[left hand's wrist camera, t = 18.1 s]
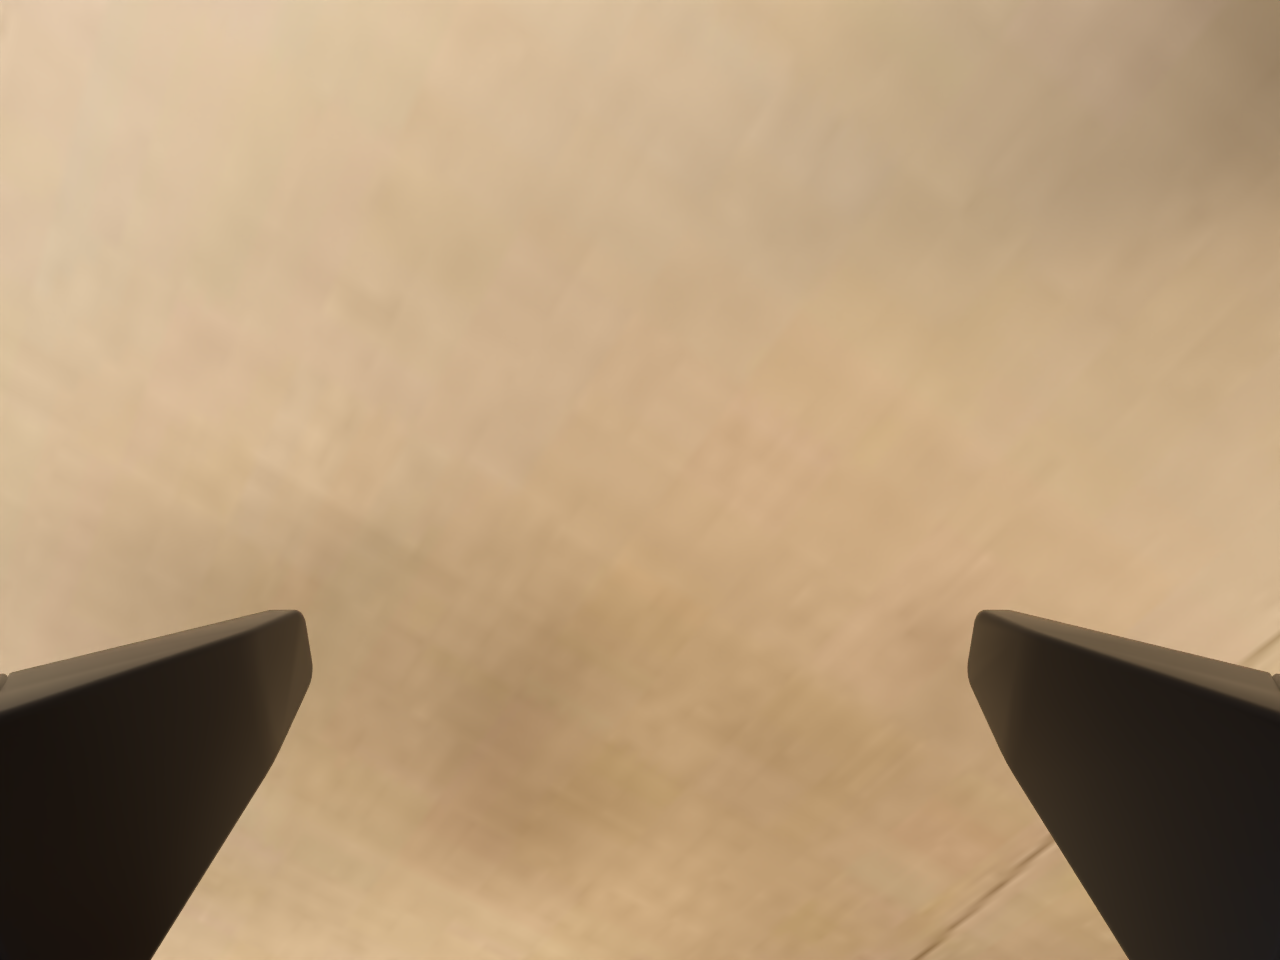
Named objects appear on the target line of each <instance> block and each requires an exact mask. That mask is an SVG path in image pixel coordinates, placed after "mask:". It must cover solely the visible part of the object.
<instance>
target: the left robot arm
mask: <svg viewBox="0 0 1280 960" xmlns="http://www.w3.org/2000/svg"><path fill="white" fill-rule="evenodd" d="M311 678H312V659H311V652H310V646H309V640H308V634H307V628H306V622H305V619H304V616H303V614H302V613H301V612H300V611H297V610H269V611H265V612H260V613H256V614H252V615H248V616H244V617H240V618H236V619H231V620H227V621H223V622H219V623H215V624H211V625H207V626H202V627H198V628H194V629H190V630H186V631H182V632H178V633H173V634H169V635H165V636H161V637H157V638H153V639H149V640H144V641H140V642H136V643H132V644H128V645H124V646H120V647H115V648H111V649H107V650H103V651H99V652H95V653H91V654H86V655H82V656H78V657H74V658H70V659H66V660H62V661H58V662H53V663H49V664H45V665H41V666H37V667H33V668H29V669H24V670H20V671H16V672H12V673H10V674H9V676H8V677H7V675H5V674H0V960H151V959H152V957H153V955H154V954H155V952H156V951H157V949H158V947H159V946H160V944H161V943H162V941H163V939H164V938H165V936H166V935H167V933H168V931H169V930H170V928H171V927H172V925H173V923H174V922H175V920H176V919H177V917H178V915H179V914H180V912H181V911H182V909H183V907H184V906H185V904H186V903H187V901H188V899H189V898H190V896H191V895H192V893H193V891H194V890H195V888H196V887H197V885H198V883H199V882H200V880H201V879H202V877H203V875H204V874H205V872H206V871H207V869H208V867H209V866H210V864H211V863H212V861H213V859H214V858H215V856H216V855H217V853H218V851H219V850H220V848H221V847H222V845H223V843H224V842H225V840H226V839H227V837H228V835H229V834H230V832H231V831H232V829H233V827H234V826H235V824H236V823H237V821H238V819H239V818H240V816H241V815H242V813H243V811H244V810H245V808H246V807H247V805H248V803H249V802H250V800H251V799H252V797H253V795H254V794H255V792H256V791H257V789H258V787H259V786H260V784H261V783H262V781H263V779H264V778H265V776H266V774H267V773H268V771H269V769H270V767H271V766H272V764H273V762H274V760H275V758H276V756H277V754H278V752H279V750H280V748H281V746H282V744H283V742H284V740H285V737H286V735H287V733H288V731H289V729H290V727H291V724H292V722H293V720H294V718H295V716H296V713H297V711H298V709H299V707H300V705H301V703H302V700H303V698H304V696H305V694H306V692H307V689H308V687H309V685H310V682H311ZM968 678H969V682H970V685H971V687H972V689H973V692H974V694H975V696H976V698H977V700H978V703H979V705H980V707H981V709H982V711H983V713H984V716H985V718H986V720H987V722H988V724H989V727H990V729H991V731H992V733H993V735H994V737H995V740H996V742H997V744H998V746H999V748H1000V750H1001V752H1002V754H1003V756H1004V758H1005V760H1006V762H1007V764H1008V766H1009V767H1010V769H1011V771H1012V773H1013V774H1014V776H1015V778H1016V779H1017V781H1018V783H1019V784H1020V786H1021V787H1022V789H1023V791H1024V792H1025V794H1026V795H1027V797H1028V799H1029V800H1030V802H1031V803H1032V805H1033V807H1034V808H1035V810H1036V811H1037V813H1038V815H1039V816H1040V818H1041V819H1042V821H1043V823H1044V824H1045V826H1046V827H1047V829H1048V831H1049V832H1050V834H1051V835H1052V837H1053V839H1054V840H1055V842H1056V843H1057V845H1058V847H1059V848H1060V850H1061V851H1062V853H1063V855H1064V856H1065V858H1066V859H1067V861H1068V863H1069V864H1070V866H1071V867H1072V869H1073V871H1074V872H1075V874H1076V875H1077V877H1078V879H1079V880H1080V882H1081V883H1082V885H1083V887H1084V888H1085V890H1086V891H1087V893H1088V895H1089V896H1090V898H1091V899H1092V901H1093V903H1094V904H1095V906H1096V907H1097V909H1098V911H1099V912H1100V914H1101V915H1102V917H1103V919H1104V920H1105V922H1106V923H1107V925H1108V927H1109V928H1110V930H1111V931H1112V933H1113V935H1114V936H1115V938H1116V939H1117V941H1118V943H1119V944H1120V946H1121V947H1122V949H1123V951H1124V952H1125V954H1126V955H1127V957H1128V959H1129V960H1280V674H1275V675H1273V677H1272V676H1271V674H1270V673H1268V672H1264V671H1260V670H1256V669H1252V668H1248V667H1243V666H1239V665H1235V664H1231V663H1227V662H1223V661H1219V660H1214V659H1210V658H1206V657H1202V656H1198V655H1194V654H1190V653H1185V652H1181V651H1177V650H1173V649H1169V648H1165V647H1161V646H1156V645H1152V644H1148V643H1144V642H1140V641H1136V640H1131V639H1127V638H1123V637H1119V636H1115V635H1111V634H1107V633H1102V632H1098V631H1094V630H1090V629H1086V628H1082V627H1078V626H1073V625H1069V624H1065V623H1061V622H1057V621H1053V620H1049V619H1044V618H1040V617H1036V616H1032V615H1028V614H1024V613H1020V612H1015V611H1011V610H983V611H980V612H979V613H978V614H977V616H976V619H975V622H974V628H973V634H972V640H971V646H970V652H969V659H968Z"/></svg>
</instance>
